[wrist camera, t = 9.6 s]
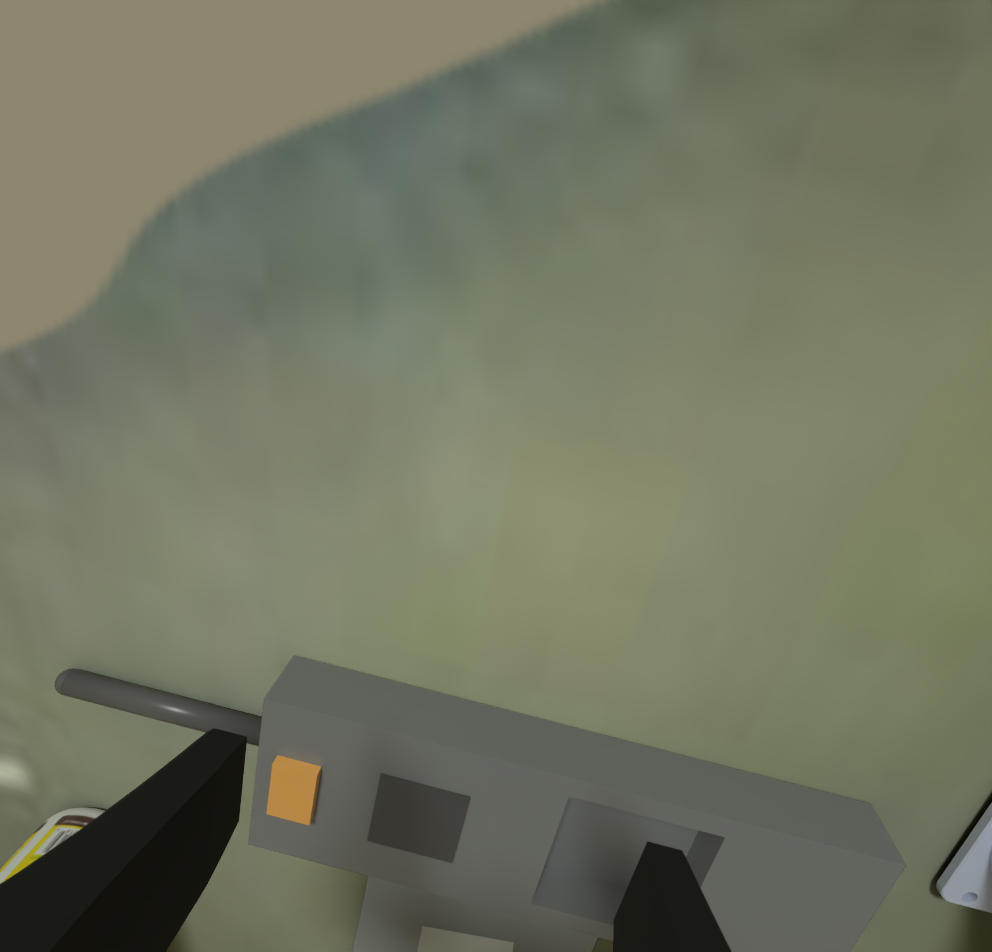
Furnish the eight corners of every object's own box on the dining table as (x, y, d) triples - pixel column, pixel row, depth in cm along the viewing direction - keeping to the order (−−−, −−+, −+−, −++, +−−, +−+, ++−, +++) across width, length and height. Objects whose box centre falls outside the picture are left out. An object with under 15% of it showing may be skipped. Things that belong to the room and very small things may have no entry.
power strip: (870, 803, 22) (913, 876, 19) (796, 929, 24) (825, 1009, 22) (65, 596, 23) (0, 639, 20) (70, 737, 25) (12, 792, 22)
